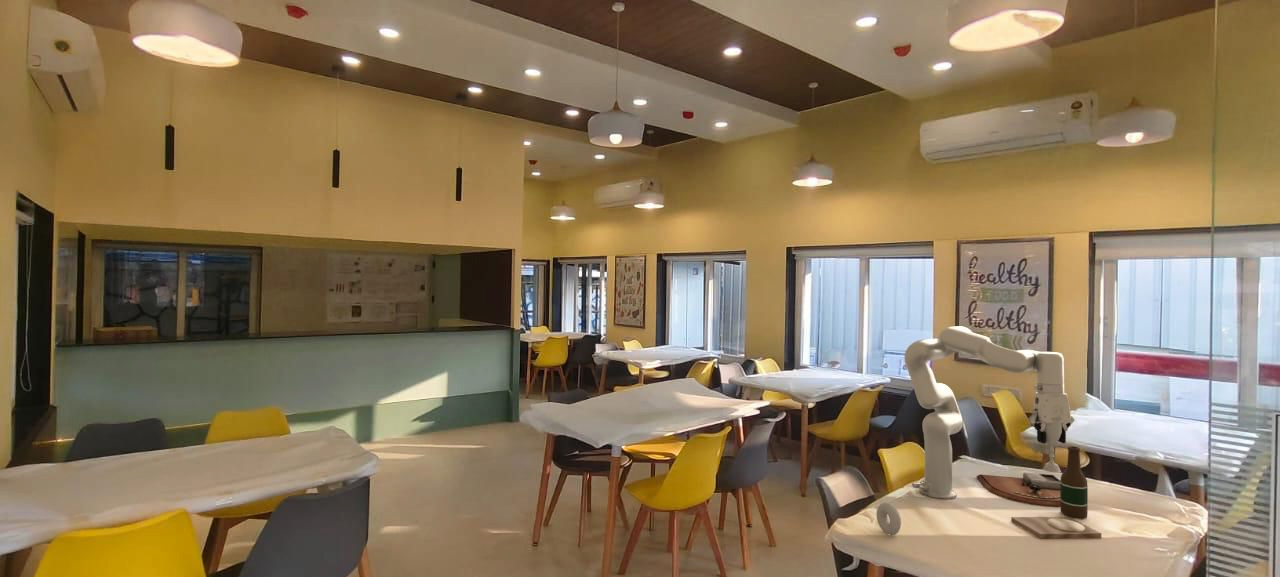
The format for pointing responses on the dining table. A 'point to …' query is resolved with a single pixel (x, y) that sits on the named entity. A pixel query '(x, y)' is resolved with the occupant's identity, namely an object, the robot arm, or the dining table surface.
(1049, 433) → the chalice
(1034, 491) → the wooden control board
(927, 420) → the robot arm
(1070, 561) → the dining table surface
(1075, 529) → the walnut board
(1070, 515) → the beer bottle
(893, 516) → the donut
